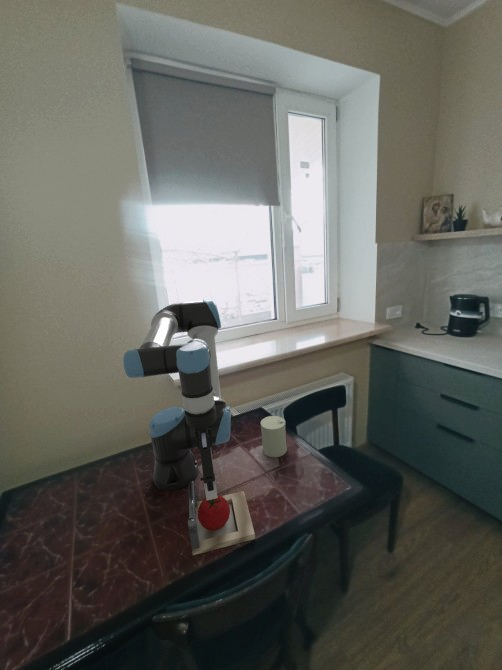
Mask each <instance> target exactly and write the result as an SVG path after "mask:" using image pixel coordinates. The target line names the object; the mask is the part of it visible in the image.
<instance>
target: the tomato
mask: <svg viewBox="0 0 502 670" xmlns="http://www.w3.org/2000/svg"><path fill="white" fill-rule="evenodd" d="M217 496H218V498H215V499H211V500H206V497H205V498H204V499H203V500H201V501H202V502H201V504H200V506H199V509H198V520H199V522H200V524H201V525H202V526H203V527H204V528H206V529H208V530H212V531H213V530H218V529H220V528H222V527H223V526H224V525H225V524H226V522H227V521H228V519H229V515H230V507H229V504H228V502H227V500H226V499H225V498H223V497H222V496H223V495H220V494H217Z"/></svg>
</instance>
